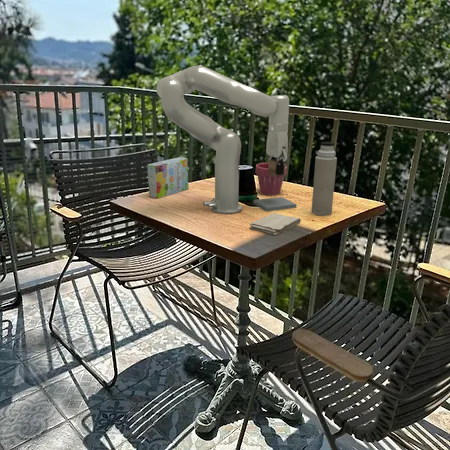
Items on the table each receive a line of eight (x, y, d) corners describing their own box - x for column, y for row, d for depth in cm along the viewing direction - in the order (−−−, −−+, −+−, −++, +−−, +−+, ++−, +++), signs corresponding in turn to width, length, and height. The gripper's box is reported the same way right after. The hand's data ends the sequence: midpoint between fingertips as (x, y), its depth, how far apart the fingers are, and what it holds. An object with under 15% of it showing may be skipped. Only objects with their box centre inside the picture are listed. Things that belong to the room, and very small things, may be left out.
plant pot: (291, 192, 202) (293, 165, 198) (274, 198, 192) (275, 170, 188) (266, 187, 211) (267, 161, 206) (248, 192, 201) (249, 165, 196)
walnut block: (274, 176, 175) (274, 162, 173) (268, 174, 179) (268, 159, 177) (284, 175, 176) (285, 161, 174) (278, 173, 181) (279, 158, 179)
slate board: (266, 211, 174) (266, 207, 174) (253, 203, 185) (253, 200, 184) (296, 207, 179) (296, 204, 179) (282, 200, 190) (282, 196, 189)
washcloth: (247, 230, 155) (247, 222, 154) (273, 217, 168) (273, 210, 167) (276, 237, 148) (276, 229, 147) (301, 224, 161) (301, 216, 160)
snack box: (180, 187, 209) (179, 156, 204) (189, 189, 206) (188, 158, 201) (148, 197, 193) (146, 163, 188) (157, 199, 190) (156, 165, 185)
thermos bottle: (307, 212, 173) (312, 142, 164) (318, 208, 178) (324, 140, 169) (324, 217, 168) (330, 144, 159) (335, 212, 173) (342, 142, 164)
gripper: (260, 126, 177) (259, 169, 183) (280, 131, 162) (278, 178, 169) (276, 125, 180) (274, 168, 186) (297, 130, 165) (295, 176, 171)
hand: (276, 172), depth 177 cm, fingers closed on walnut block, 5 cm apart
